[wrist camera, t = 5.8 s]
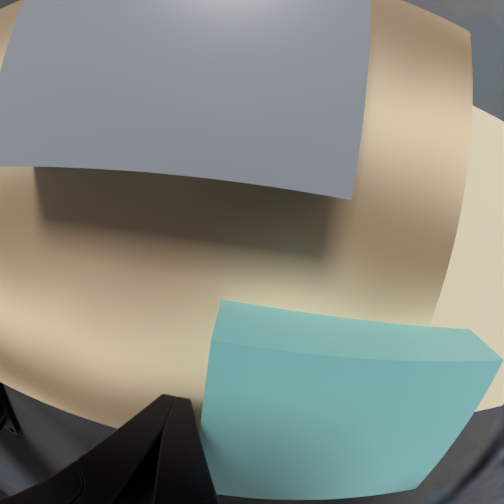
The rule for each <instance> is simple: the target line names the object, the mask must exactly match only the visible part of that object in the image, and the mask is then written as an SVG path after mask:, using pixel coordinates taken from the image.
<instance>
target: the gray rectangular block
mask: <svg viewBox="0 0 504 504" xmlns="http://www.w3.org/2000/svg"><path fill="white" fill-rule="evenodd" d="M370 26H371V0H24V1H23V3H22V6H21V8H20V11H19V13H18V16H17V19H16V21H15V24H14V27H13V30H12V33H11V36H10V39H9V42H8V45H7V49H6V52H5V56H4V59H3V63H2V67H1V71H0V167H12V166H15V167H67V168H90V169H108V170H123V171H136V172H149V173H160V174H171V175H181V176H191V177H200V178H209V179H217V180H225V181H233V182H241V183H248V184H255V185H262V186H269V187H276V188H283V189H289V190H295V191H301V192H307V193H313V194H319V195H325V196H331V197H336V198H341V199H347V200H352V195H353V189H354V182H355V176H356V170H357V163H358V156H359V149H360V142H361V134H362V126H363V117H364V108H365V98H366V88H367V76H368V63H369V48H370Z"/></svg>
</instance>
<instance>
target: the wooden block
mask: <svg viewBox="0 0 504 504" xmlns="http://www.w3.org/2000/svg"><path fill="white" fill-rule="evenodd" d="M23 1H24V0H20V1H18V2H15V3H13V4H11V5H8V6H6V7H4V8H2V9H0V71H1V67H2V63H3V59H4V56H5V52H6V49H7V45H8V42H9V39H10V36H11V33H12V30H13V27H14V24H15V21H16V19H17V16H18V13H19V11H20V8H21V6H22V3H23ZM472 101H473V77H472V53H471V39H470V32H469V31H467V30H465V29H463V28H461V27H459V26H458V25H456V24H454V23H452V22H450V21H448V20H446V19H444V18H442V17H439V16H437V15H435V14H433V13H431V12H429V11H426V10H424V9H422V8H419V7H417V6H415V5H412V4H410V3H407V2H405V1H402V0H371V26H370V48H369V63H368V76H367V88H366V98H365V108H364V117H363V126H362V134H361V142H360V149H359V156H358V163H357V170H356V176H355V182H354V189H353V195H352V200H347V199H341V198H336V197H331V196H325V195H319V194H313V193H307V192H301V191H295V190H289V189H283V188H276V187H269V186H262V185H255V184H248V183H241V182H233V181H225V180H217V179H209V178H200V177H191V176H181V175H171V174H160V173H149V172H136V171H123V170H108V169H90V168H67V167H15V166H12V167H0V382H1V383H3V384H5V385H7V386H9V387H11V388H13V389H15V390H17V391H19V392H22V393H24V394H26V395H28V396H30V397H32V398H35V399H37V400H39V401H42V402H44V403H46V404H49V405H51V406H54V407H56V408H59V409H61V410H64V411H66V412H69V413H72V414H74V415H77V416H80V417H83V418H86V419H89V420H92V421H95V422H98V423H101V424H104V425H107V426H111V427H114V428H119V427H121V426H122V425H123V424H125V423H126V422H127V421H128V420H130V419H131V418H132V417H134V416H135V415H136V414H137V413H139V412H140V411H141V410H143V409H144V408H145V407H146V406H148V405H149V404H150V403H151V402H153V401H154V400H155V399H156V398H158V397H159V396H160V395H161V394H168V395H173V396H176V397H177V396H179V397H184V398H189V399H191V402H192V406H193V410H194V414H195V418H196V422H197V426H198V430H199V433H200V425H201V416H202V408H203V399H204V391H205V383H206V375H207V368H208V360H209V352H210V345H211V339H212V334H213V330H214V326H215V322H216V318H217V314H218V311H219V307H220V303H221V299H223V300H229V301H235V302H241V303H247V304H253V305H260V306H266V307H272V308H279V309H285V310H292V311H299V312H306V313H313V314H321V315H328V316H336V317H344V318H352V319H360V320H368V321H377V322H386V323H396V324H406V325H416V326H427V327H429V326H430V323H431V320H432V317H433V314H434V311H435V309H436V306H437V302H438V299H439V296H440V293H441V290H442V287H443V283H444V280H445V276H446V273H447V269H448V266H449V262H450V258H451V254H452V250H453V246H454V242H455V237H456V233H457V228H458V223H459V219H460V213H461V208H462V202H463V197H464V190H465V184H466V177H467V169H468V161H469V151H470V140H471V126H472Z"/></svg>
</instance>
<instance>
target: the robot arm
mask: <svg viewBox="0 0 504 504" xmlns="http://www.w3.org/2000/svg"><path fill="white" fill-rule="evenodd" d="M2 428H4V429H5V430H7V431H9V432H11V433H13V434H15V435H17V434H18V433H19V428H18V426H17V424H16V422H15V420H14V417H13V415H12V413H11V410H10V408H9V406H8V403H7V401H6V398H5V396H4V393H3V390H2V388H1V385H0V430H1V429H2ZM0 504H220V502H219V499H218V496H217V495H216V490H215V487H214V484H213V481H212V477H211V474H210V470H209V467H208V464H207V460H206V457H205V453H204V449H203V446H202V442H201V438H200V434H199V430H198V426H197V422H196V418H195V414H194V410H193V406H192V402H191V399H189V398H184V397H179V396H177V397H176V396H173V395H168V394H161V395H160V396H159V397H158V398H156V399H155V400H154V401H153V402H151V403H150V404H149V405H148V406H146V407H145V408H144V409H143V410H141V411H140V412H139V413H137V414H136V415H135V416H134V417H132V418H131V419H130V420H128V421H127V422H126V423H125V424H123V425H122V426H121V427H119V428H118V429H117V430H115V431H114V432H113V433H111V434H110V435H109V436H108V437H106V438H105V439H104V440H102V441H101V442H100V443H98V444H97V445H95V446H94V447H93V448H91V449H90V450H89V451H87V452H86V453H85V454H83V455H82V456H80V457H79V458H78V461H77V460H75V461H73V462H72V463H71V464H69V465H68V466H66V467H65V468H63V469H62V470H60V471H59V472H57V473H56V474H54V475H53V476H51V477H49V478H47V479H45V480H44V481H42V482H40V483H38V484H36V485H34V486H32V487H30V488H28V489H26V490H24V491H22V492H19V493H17V494H15V495H13V496H11V497H8V498H6V499H4V500H2V501H0Z"/></svg>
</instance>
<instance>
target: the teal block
mask: <svg viewBox="0 0 504 504" xmlns="http://www.w3.org/2000/svg"><path fill="white" fill-rule="evenodd" d="M502 362H503V359H502V358H501V357H500V356H499V355H498V354H497V353H496V352H494V351H493V350H492V349H491V348H490V347H489V346H488V345H487V344H486V343H485V342H483V341H482V340H481V339H480V338H479V337H478V336H477V335H476V334H475V333H473V332H472V331H471V330H469V329H455V328H442V327H430V326H429V327H427V326H416V325H406V324H396V323H386V322H377V321H368V320H360V319H352V318H344V317H336V316H328V315H321V314H313V313H306V312H299V311H292V310H285V309H279V308H272V307H266V306H260V305H253V304H247V303H241V302H235V301H229V300H223V299H221V303H220V307H219V311H218V314H217V318H216V322H215V326H214V330H213V334H212V339H211V345H210V352H209V360H208V368H207V375H206V383H205V391H204V399H203V408H202V416H201V425H200V433H199V434H200V438H201V442H202V446H203V449H204V453H205V457H206V460H207V464H208V467H209V470H210V474H211V477H212V481H213V484H214V487H215V490H216V494H219V495H227V496H236V497H246V498H258V499H276V500H324V499H342V498H354V497H364V496H372V495H380V494H387V493H393V492H399V491H405V490H410V489H415V488H417V486H418V485H419V484H420V483H421V482H422V481H423V480H424V479H425V477H426V476H427V475H428V474H429V473H430V472H431V470H432V469H433V468H434V467H435V466H436V464H437V463H438V462H439V461H440V459H441V458H442V457H443V456H444V454H445V453H446V452H447V450H448V449H449V448H450V446H451V445H452V444H453V442H454V441H455V440H456V438H457V437H458V435H459V434H460V433H461V431H462V430H463V428H464V427H465V425H466V424H467V422H468V421H469V419H470V418H471V416H472V415H473V413H474V412H475V410H476V408H477V407H478V405H479V404H480V402H481V400H482V399H483V397H484V395H485V394H486V392H487V390H488V388H489V387H490V385H491V383H492V381H493V379H494V377H495V376H496V374H497V372H498V370H499V368H500V366H501V364H502Z"/></svg>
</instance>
